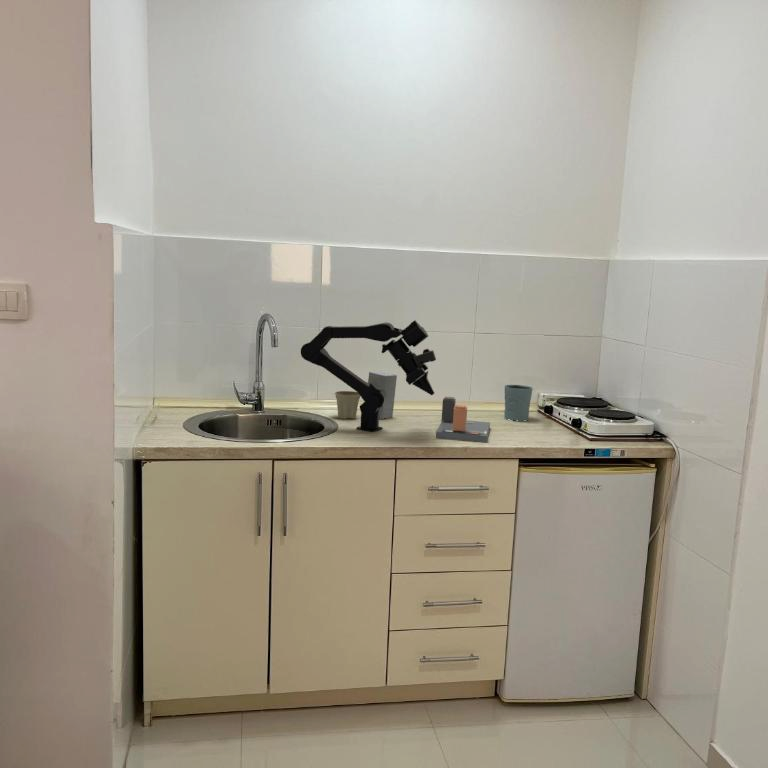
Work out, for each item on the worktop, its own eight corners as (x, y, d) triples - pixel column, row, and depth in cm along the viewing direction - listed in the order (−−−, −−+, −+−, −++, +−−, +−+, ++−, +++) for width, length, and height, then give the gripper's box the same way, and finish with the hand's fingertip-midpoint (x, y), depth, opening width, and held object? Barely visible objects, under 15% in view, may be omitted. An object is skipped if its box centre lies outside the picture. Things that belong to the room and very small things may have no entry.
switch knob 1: (441, 420, 258) (442, 398, 257) (442, 418, 262) (444, 396, 261) (453, 421, 257) (454, 399, 256) (454, 419, 261) (455, 397, 260)
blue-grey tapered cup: (508, 421, 274) (510, 388, 272) (497, 416, 283) (500, 384, 282) (534, 421, 276) (537, 389, 274) (523, 416, 286) (525, 384, 284)
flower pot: (336, 413, 273) (337, 389, 272) (362, 415, 272) (363, 391, 271) (331, 418, 264) (331, 394, 263) (357, 420, 263) (358, 396, 261)
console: (434, 437, 243) (434, 430, 243) (441, 424, 264) (441, 417, 264) (486, 442, 240) (486, 435, 240) (489, 428, 262) (490, 421, 261)
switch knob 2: (452, 430, 244) (453, 406, 242) (453, 427, 247) (455, 404, 246) (464, 431, 243) (466, 407, 242) (465, 428, 247) (467, 405, 246)
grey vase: (364, 415, 272) (366, 371, 269) (377, 413, 277) (379, 370, 275) (382, 420, 266) (384, 375, 264) (395, 417, 272) (397, 373, 269)
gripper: (421, 342, 235) (452, 382, 235) (425, 339, 253) (454, 376, 253) (392, 364, 236) (423, 404, 237) (398, 359, 255) (427, 396, 255)
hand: (433, 394), depth 245 cm, fingers closed
